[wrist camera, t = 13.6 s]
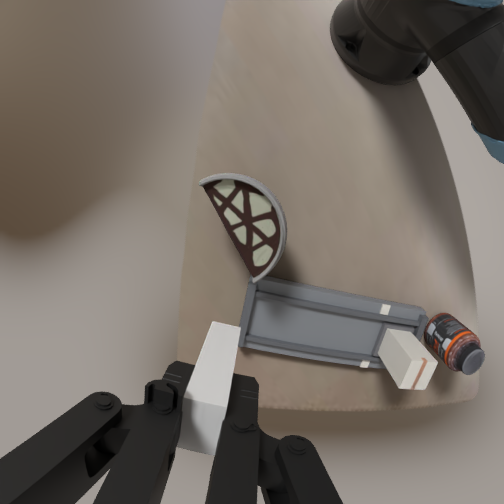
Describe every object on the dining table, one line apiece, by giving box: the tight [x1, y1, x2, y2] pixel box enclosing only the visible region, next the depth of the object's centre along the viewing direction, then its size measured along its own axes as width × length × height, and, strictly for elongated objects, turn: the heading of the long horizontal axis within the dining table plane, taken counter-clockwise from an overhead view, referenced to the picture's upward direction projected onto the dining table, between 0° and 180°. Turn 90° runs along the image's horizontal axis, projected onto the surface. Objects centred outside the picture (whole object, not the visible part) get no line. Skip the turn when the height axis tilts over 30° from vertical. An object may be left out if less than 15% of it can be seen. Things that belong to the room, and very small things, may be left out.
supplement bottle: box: [425, 313, 485, 375], centre depth 38 cm, size 6×6×11 cm
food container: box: [199, 173, 287, 283], centre depth 36 cm, size 12×6×10 cm, turn 28°
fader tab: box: [371, 322, 438, 390], centre depth 37 cm, size 5×5×10 cm
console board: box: [238, 275, 429, 369], centre depth 42 cm, size 10×26×3 cm, turn 78°
